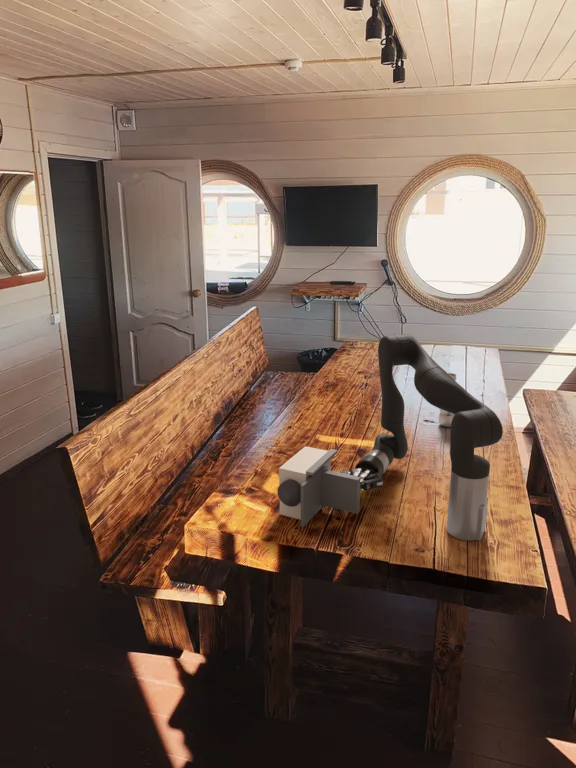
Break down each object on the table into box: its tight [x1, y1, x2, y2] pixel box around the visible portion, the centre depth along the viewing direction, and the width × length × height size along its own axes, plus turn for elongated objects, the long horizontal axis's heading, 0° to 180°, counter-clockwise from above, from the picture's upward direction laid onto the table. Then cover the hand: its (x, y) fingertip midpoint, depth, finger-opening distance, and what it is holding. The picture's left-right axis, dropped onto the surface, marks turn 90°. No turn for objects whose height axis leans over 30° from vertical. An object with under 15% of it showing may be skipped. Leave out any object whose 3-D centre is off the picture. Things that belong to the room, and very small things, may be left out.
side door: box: [300, 466, 361, 528], centre depth 160 cm, size 11×13×12 cm
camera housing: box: [276, 446, 338, 521], centre depth 169 cm, size 10×18×15 cm, turn 152°
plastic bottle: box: [438, 372, 457, 428], centre depth 224 cm, size 6×7×20 cm
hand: (349, 491), depth 165 cm, fingers closed
